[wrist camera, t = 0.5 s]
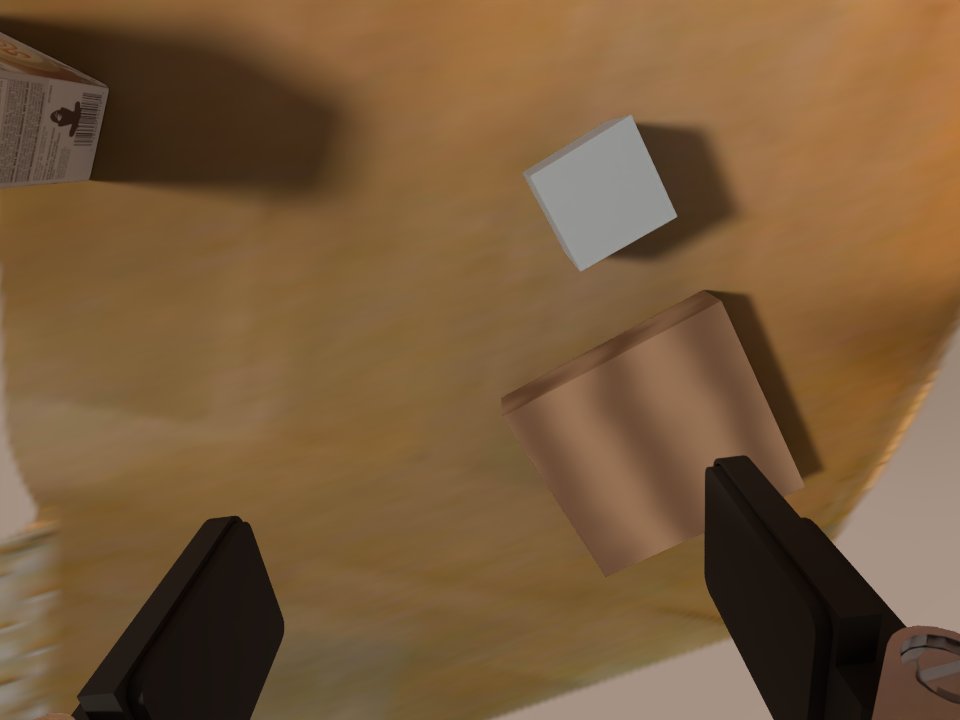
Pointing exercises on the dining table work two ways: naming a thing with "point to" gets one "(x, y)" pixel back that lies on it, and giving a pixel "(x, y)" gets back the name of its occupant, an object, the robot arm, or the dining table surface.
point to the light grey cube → (601, 192)
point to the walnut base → (648, 430)
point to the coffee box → (46, 118)
